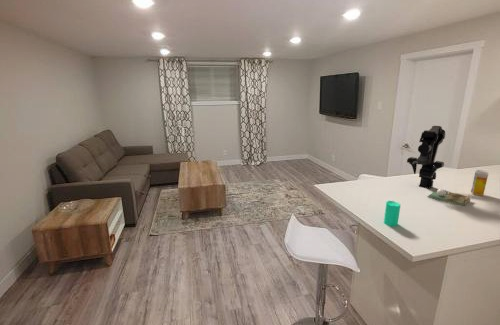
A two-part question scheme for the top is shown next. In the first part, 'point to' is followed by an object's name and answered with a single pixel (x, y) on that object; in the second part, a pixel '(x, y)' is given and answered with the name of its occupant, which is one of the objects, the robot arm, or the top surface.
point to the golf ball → (441, 192)
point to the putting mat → (443, 198)
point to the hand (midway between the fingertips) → (422, 175)
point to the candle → (392, 213)
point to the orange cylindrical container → (479, 182)
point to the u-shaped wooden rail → (457, 197)
